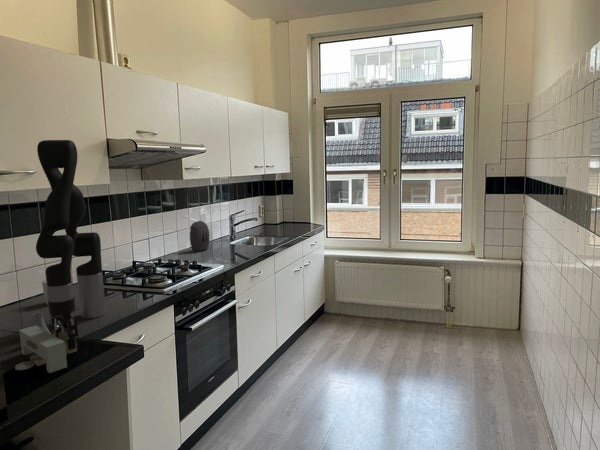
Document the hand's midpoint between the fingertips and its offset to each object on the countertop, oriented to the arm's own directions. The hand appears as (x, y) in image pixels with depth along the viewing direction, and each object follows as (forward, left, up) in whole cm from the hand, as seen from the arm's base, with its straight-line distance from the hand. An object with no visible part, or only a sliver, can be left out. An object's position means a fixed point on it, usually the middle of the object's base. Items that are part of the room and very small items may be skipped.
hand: (66, 345), depth 149 cm
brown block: (0, -4, -2) cm, 4 cm away
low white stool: (0, -7, -2) cm, 7 cm away
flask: (-17, -2, -3) cm, 17 cm away
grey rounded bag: (-95, +126, -3) cm, 158 cm away
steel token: (0, -13, -3) cm, 13 cm away
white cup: (-59, +19, -3) cm, 62 cm away
